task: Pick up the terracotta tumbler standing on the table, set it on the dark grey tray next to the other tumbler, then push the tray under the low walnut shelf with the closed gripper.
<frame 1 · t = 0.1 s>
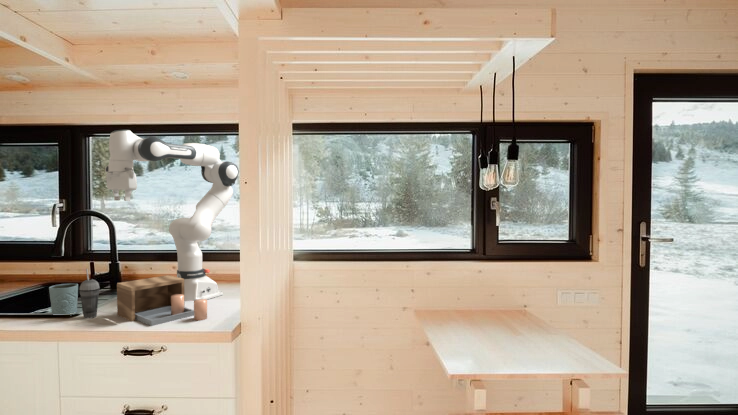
hand: (122, 200, 181), 48 cm above the table, tool pointing down, fingers open, 8 cm apart
beverage cup: (90, 317, 176), on the table
teal cup: (64, 314, 180), on the table
tray: (164, 315, 175), point 1 cm above the table, slide at 7.5 cm, touching tumbler on tray
tumbler on tray: (177, 314, 179), point 1 cm above the table, touching tray
loose tumbler: (200, 319, 174), on the table
shelf: (151, 313, 182), on the table
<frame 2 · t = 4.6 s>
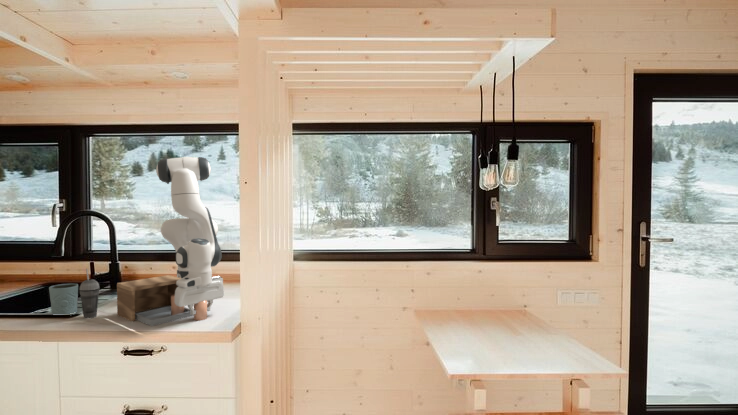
hand: (200, 312, 174), 3 cm above the table, tool pointing down, fingers closed on loose tumbler, 5 cm apart
loose tumbler: (200, 319, 174), on the table, touching gripper
everything else where it was.
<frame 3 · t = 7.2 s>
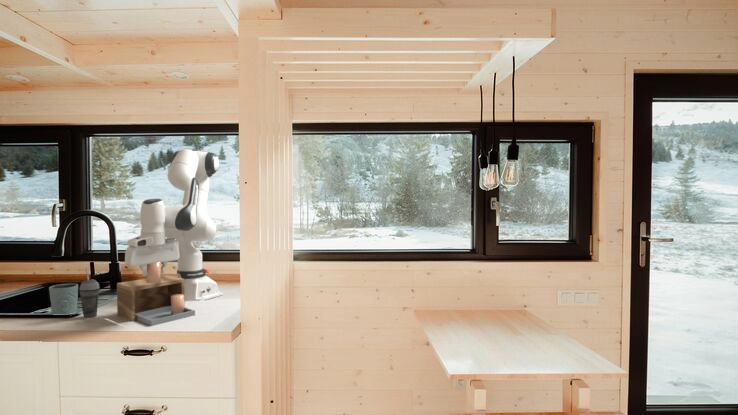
hand: (153, 274, 170), 19 cm above the table, tool pointing down, fingers closed on loose tumbler, 5 cm apart
loose tumbler: (153, 281, 170), point 16 cm above the table, touching gripper
everything else where it was.
when the fingers open (5 cm above the table, at t = 9.8 s): loose tumbler drops 1 cm, resting on tray.
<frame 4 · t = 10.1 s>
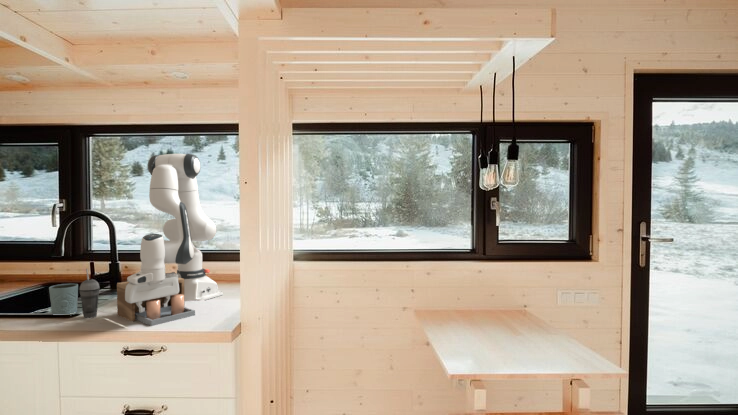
hand: (153, 309, 170), 5 cm above the table, tool pointing down, fingers open, 8 cm apart
tray: (164, 315, 175), point 1 cm above the table, slide at 7.5 cm, touching loose tumbler, tumbler on tray
loose tumbler: (153, 320, 171), point 1 cm above the table, touching tray
everything else where it was.
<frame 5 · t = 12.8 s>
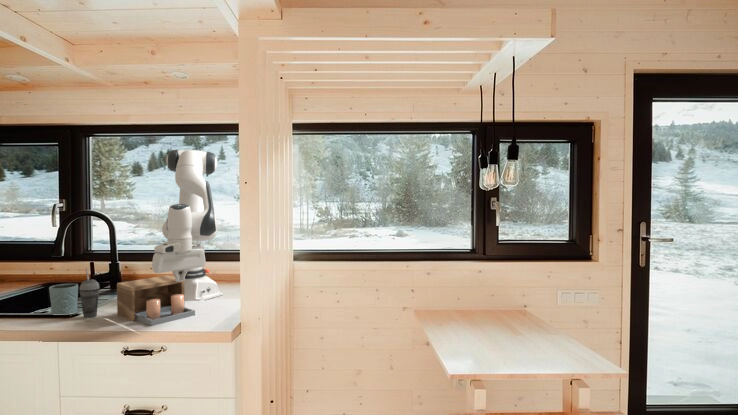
hand: (180, 281, 167), 17 cm above the table, tool pointing down, fingers closed
nothing on the table moved.
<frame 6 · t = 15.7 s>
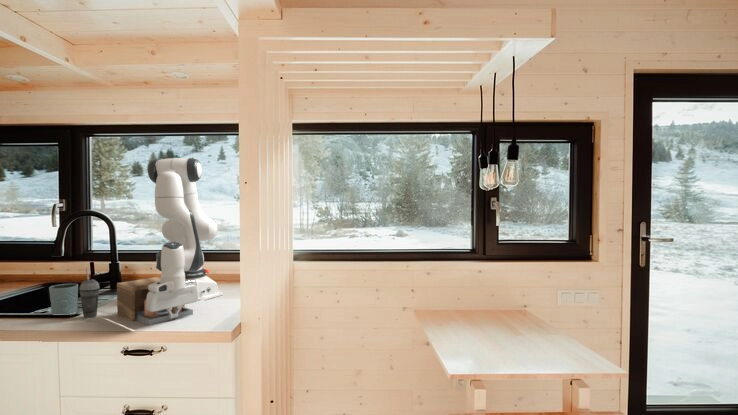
hand: (173, 317, 171), 2 cm above the table, tool pointing down, fingers closed, pressing on tray
tray: (162, 314, 176), point 1 cm above the table, slide at 5.8 cm, touching gripper, loose tumbler, tumbler on tray
tumbler on tray: (175, 313, 180), point 1 cm above the table, touching tray
loose tumbler: (151, 319, 172), point 1 cm above the table, touching tray
everything else where it was.
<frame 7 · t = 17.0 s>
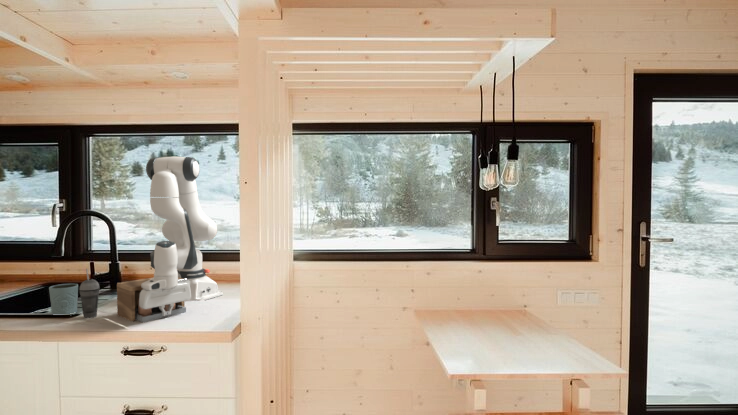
hand: (166, 315, 174), 2 cm above the table, tool pointing down, fingers closed, pressing on tray
tray: (156, 312, 179), point 1 cm above the table, slide at 0.5 cm, touching gripper, loose tumbler, tumbler on tray
tumbler on tray: (168, 311, 183), point 1 cm above the table, touching tray
loose tumbler: (145, 316, 175), point 1 cm above the table, touching tray
everything else where it was.
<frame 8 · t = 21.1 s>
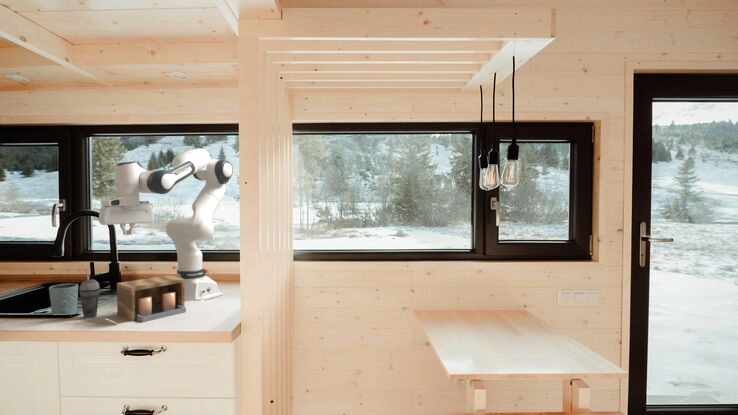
hand: (127, 234, 176), 34 cm above the table, tool pointing down, fingers closed
tray: (156, 312, 179), point 1 cm above the table, slide at 0.4 cm, touching loose tumbler, tumbler on tray
everything else where it was.
at the end: tray slide at 0.4 cm; loose tumbler inside the target area on the tray (0.2 cm from its centre), point 0.6 cm above the tray's base; loose tumbler tilted 0° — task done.
